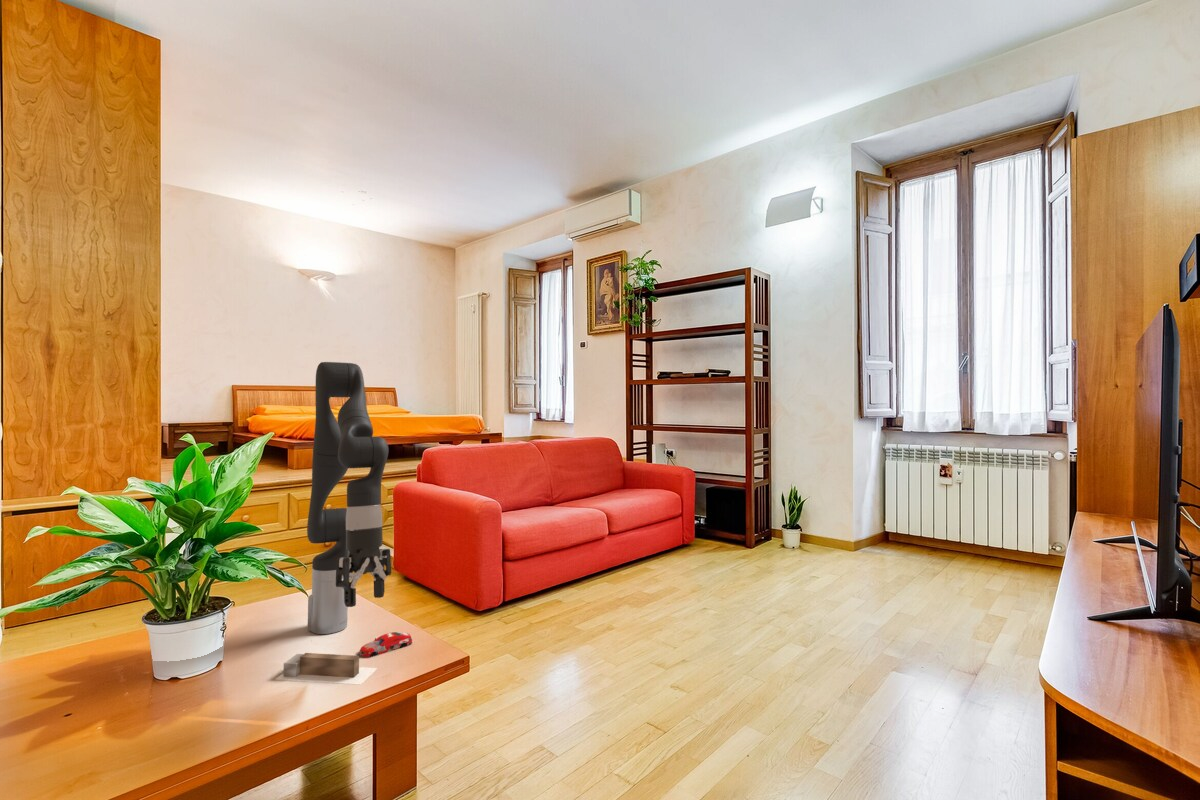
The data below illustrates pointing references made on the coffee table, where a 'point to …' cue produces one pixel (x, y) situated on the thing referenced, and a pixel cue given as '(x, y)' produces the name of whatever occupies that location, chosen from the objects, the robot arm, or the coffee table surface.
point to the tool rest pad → (333, 677)
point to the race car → (386, 644)
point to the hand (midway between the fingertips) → (365, 601)
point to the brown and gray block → (322, 665)
